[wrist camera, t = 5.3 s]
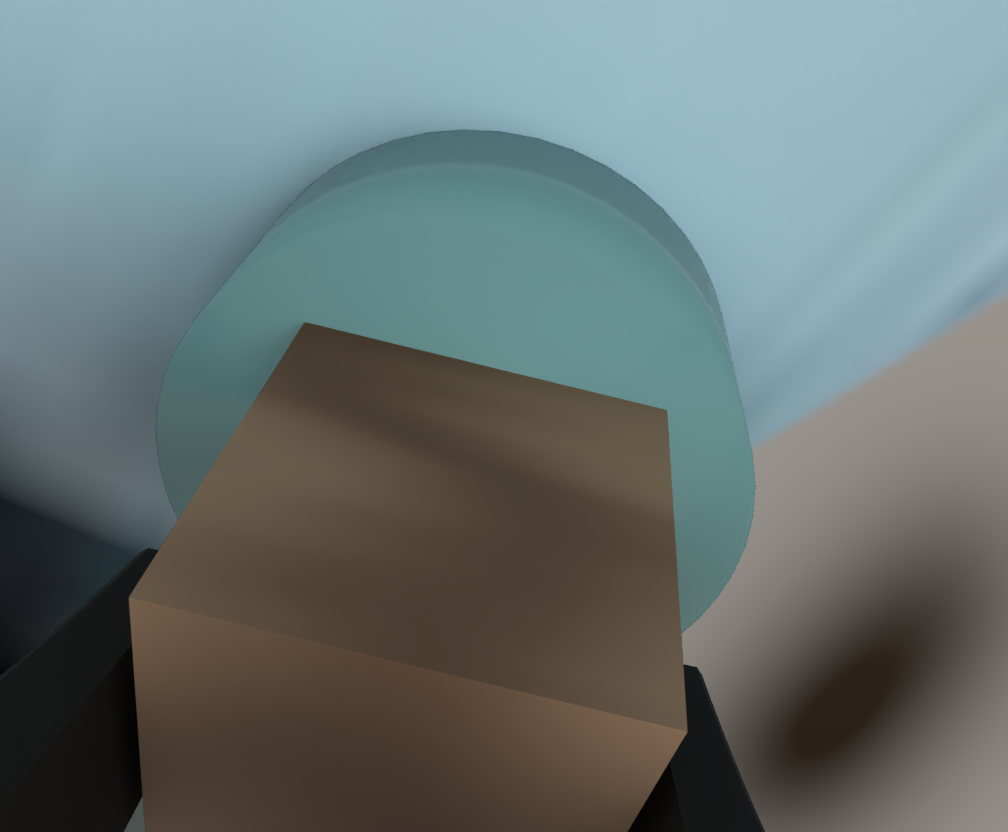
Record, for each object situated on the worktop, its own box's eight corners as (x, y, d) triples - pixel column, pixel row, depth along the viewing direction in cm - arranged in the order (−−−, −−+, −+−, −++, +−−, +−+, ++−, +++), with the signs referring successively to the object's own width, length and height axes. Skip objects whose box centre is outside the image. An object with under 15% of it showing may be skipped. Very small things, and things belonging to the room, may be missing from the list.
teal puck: (240, 486, 19) (161, 627, 15) (261, 64, 13) (147, 143, 10) (637, 580, 19) (642, 738, 16) (809, 205, 14) (869, 326, 10)
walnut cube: (284, 570, 14) (147, 869, 10) (306, 318, 11) (129, 596, 7) (571, 640, 14) (548, 962, 10) (667, 408, 12) (688, 731, 7)
